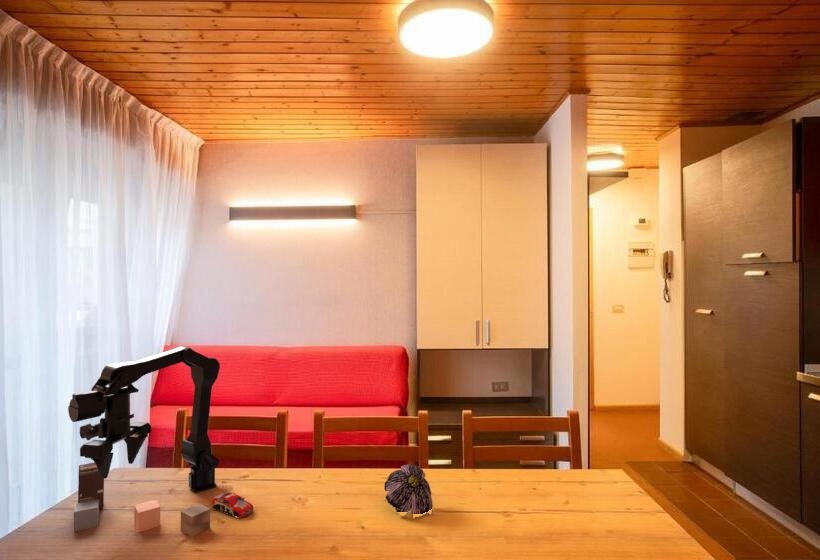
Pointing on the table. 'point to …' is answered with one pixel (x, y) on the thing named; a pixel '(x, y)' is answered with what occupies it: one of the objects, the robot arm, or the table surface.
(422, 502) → the decorative flower
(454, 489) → the table surface
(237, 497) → the race car
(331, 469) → the table surface
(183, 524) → the metal block
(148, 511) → the terracotta block
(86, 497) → the box
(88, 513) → the gray block
